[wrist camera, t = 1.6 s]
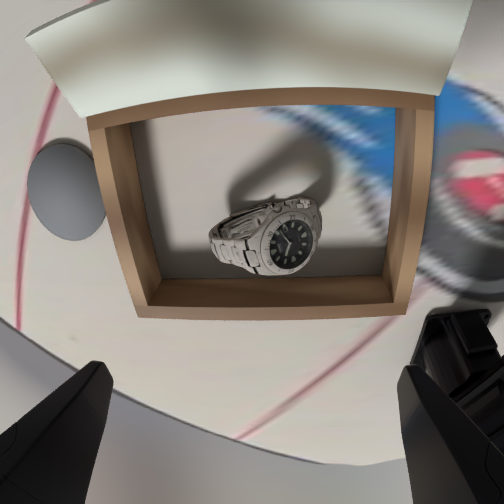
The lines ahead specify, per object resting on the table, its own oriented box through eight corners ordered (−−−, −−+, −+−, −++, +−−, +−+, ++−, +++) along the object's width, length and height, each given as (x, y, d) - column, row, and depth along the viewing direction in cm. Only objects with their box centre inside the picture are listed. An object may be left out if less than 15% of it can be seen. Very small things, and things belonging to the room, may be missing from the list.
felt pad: (118, 235, 21) (115, 238, 20) (45, 240, 21) (43, 242, 21) (95, 134, 17) (92, 135, 17) (21, 154, 18) (18, 155, 18)
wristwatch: (323, 228, 19) (334, 274, 15) (226, 250, 21) (211, 298, 16) (310, 173, 18) (320, 206, 13) (207, 200, 19) (185, 239, 15)
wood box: (393, 286, 21) (424, 363, 15) (152, 290, 23) (115, 363, 17) (407, 14, 12) (472, -13, 6) (104, 37, 14) (24, 30, 8)
